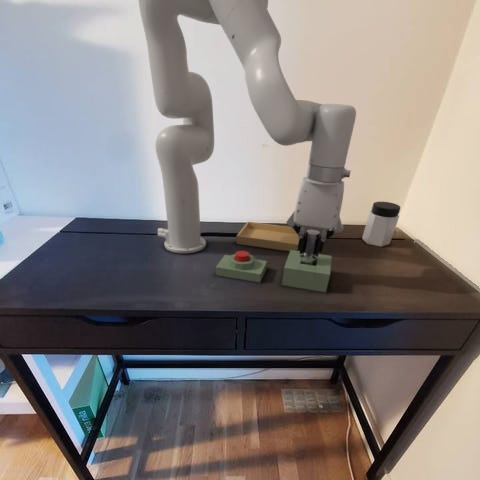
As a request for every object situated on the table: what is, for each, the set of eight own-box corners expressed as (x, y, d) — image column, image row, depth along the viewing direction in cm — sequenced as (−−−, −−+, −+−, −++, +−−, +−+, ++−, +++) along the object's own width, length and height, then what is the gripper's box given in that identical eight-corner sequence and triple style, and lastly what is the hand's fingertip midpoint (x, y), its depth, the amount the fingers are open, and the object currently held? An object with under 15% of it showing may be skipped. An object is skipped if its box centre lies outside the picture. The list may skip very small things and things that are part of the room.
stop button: (233, 261, 81) (233, 255, 80) (237, 256, 83) (237, 249, 82) (247, 263, 80) (247, 257, 79) (250, 257, 83) (250, 251, 82)
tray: (236, 243, 99) (236, 235, 97) (247, 228, 110) (247, 221, 109) (296, 252, 95) (297, 244, 94) (301, 236, 106) (302, 228, 105)
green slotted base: (281, 285, 79) (284, 267, 76) (288, 266, 87) (290, 249, 84) (325, 292, 77) (330, 274, 74) (327, 272, 85) (331, 255, 82)
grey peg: (295, 276, 80) (303, 233, 73) (297, 269, 84) (305, 227, 77) (312, 279, 79) (321, 236, 73) (314, 272, 83) (322, 230, 76)
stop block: (215, 275, 82) (215, 261, 79) (224, 262, 88) (224, 249, 86) (260, 282, 79) (261, 268, 77) (266, 269, 86) (267, 255, 83)
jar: (377, 248, 100) (389, 210, 93) (357, 239, 105) (367, 203, 98) (394, 243, 104) (407, 206, 97) (373, 235, 109) (384, 200, 102)
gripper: (363, 174, 68) (342, 252, 79) (289, 166, 71) (279, 242, 82) (365, 182, 62) (342, 265, 73) (284, 173, 66) (274, 254, 77)
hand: (309, 252), depth 78 cm, fingers closed on grey peg, 3 cm apart
